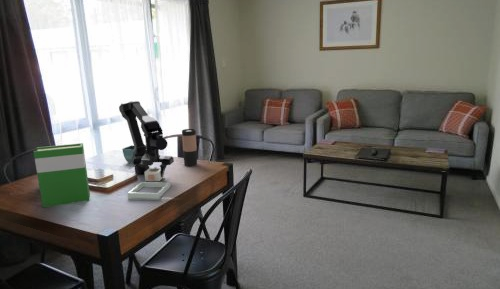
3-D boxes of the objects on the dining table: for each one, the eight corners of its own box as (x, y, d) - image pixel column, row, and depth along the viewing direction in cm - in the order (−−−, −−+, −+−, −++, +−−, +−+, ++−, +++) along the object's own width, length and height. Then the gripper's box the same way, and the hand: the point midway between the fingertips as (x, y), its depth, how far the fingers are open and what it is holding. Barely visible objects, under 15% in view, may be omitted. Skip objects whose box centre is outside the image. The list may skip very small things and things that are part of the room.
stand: (141, 186, 170) (140, 172, 169) (150, 179, 180) (149, 165, 178) (161, 186, 169) (160, 172, 167) (169, 179, 178) (168, 166, 177)
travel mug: (181, 165, 201) (179, 131, 196) (188, 162, 208) (186, 128, 203) (193, 167, 198) (191, 132, 193) (200, 163, 205) (198, 129, 200)
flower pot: (145, 160, 213) (143, 146, 210) (136, 164, 205) (134, 149, 202) (132, 159, 215) (131, 145, 213) (123, 163, 207) (121, 148, 205)
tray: (128, 199, 155) (127, 192, 154) (142, 187, 168) (141, 181, 168) (158, 200, 153) (158, 194, 152) (170, 188, 166) (170, 182, 166)
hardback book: (42, 207, 148) (33, 151, 142) (45, 200, 155) (36, 147, 149) (89, 200, 154) (81, 146, 149) (89, 194, 161) (82, 143, 155)
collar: (143, 182, 171) (143, 173, 170) (151, 176, 179) (150, 167, 178) (157, 182, 170) (156, 173, 169) (164, 176, 178) (163, 167, 177)
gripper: (126, 150, 165) (129, 182, 169) (164, 151, 163) (167, 183, 166) (136, 144, 176) (139, 174, 180) (173, 145, 173) (175, 175, 177)
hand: (154, 177), depth 175 cm, fingers closed on collar, 7 cm apart
